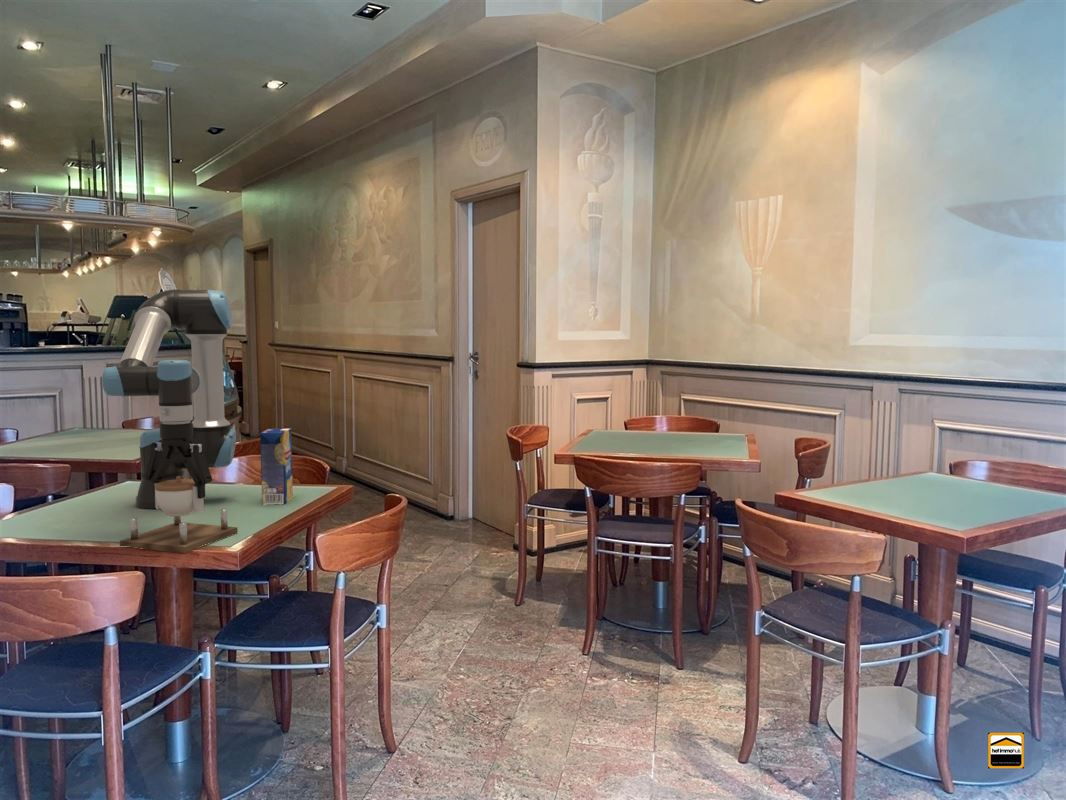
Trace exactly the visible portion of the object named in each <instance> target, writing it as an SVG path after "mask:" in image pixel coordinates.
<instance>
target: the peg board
mask: <svg viewBox="0 0 1066 800" xmlns="http://www.w3.org/2000/svg"><path fill="white" fill-rule="evenodd" d="M181 523H183V522H182V521H181ZM186 523H187V542H188V544H185V545H181V544H180V526H179V525H174V522H172V523H170V524H167V525H164V526H161V527H157V528H155V529H154V528H153V529H151V530H148V531H145V532H141V533H138V539H136V540H131V536H130V537H126V538H123V539H121V540H119V547H120V546H130V547H137V548H143V549H142V550H149V551H150V550H151V551H161V552H169V553H180V554H187V553H189V552H193V551H194V549H195V550H197V549H196V548H198V547H200V546H202V545H205V544H208V543H210V544H212V543H211V542H213V543H215V542H214V541H216V540H218V541H220V540H219V539H221V540H223V539H225V538H224V537H226V538H228V537H227V536H229V537H230V535H231V536H233V535H232V534H234V535H236V534H238V533H237V532H239V531H238V530H239V529H238V526H228V529H225V530H222V529H221V525H216V524H214V525H213V524H202V523H194V522H193V523H191V522H186ZM235 533H236V534H235ZM222 538H223V539H222ZM216 542H217V541H216ZM208 545H209V544H208ZM205 546H206V545H205ZM137 548H136V549H137ZM200 548H201V547H200ZM198 549H199V548H198Z"/></svg>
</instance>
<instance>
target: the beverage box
mask: <svg viewBox="0 0 1066 800" xmlns="http://www.w3.org/2000/svg"><path fill="white" fill-rule="evenodd" d="M259 435H260V436H259V440H260V441H259V445H260V446H259V447H260V473H261V474H260V475H261V478H260V479H261V505H262V506H264V505H263V504H286V503H287V502H288V501H289V499H290V498H291V497H292V496H293V497H294V494H293V493H294V489H293V487H294V486H293V485H294V484H293V453H292V450H293V449H292V447H293V446H292V445H293V444H292V428H267V429H266V430H264V431H263V430H262V431H261V432H260V433H259ZM293 497H292V498H293ZM292 498H291V499H292ZM291 499H290V500H291ZM289 502H290V501H289ZM287 504H288V503H287ZM287 504H286V505H287Z"/></svg>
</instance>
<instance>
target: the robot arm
mask: <svg viewBox="0 0 1066 800" xmlns="http://www.w3.org/2000/svg"><path fill="white" fill-rule="evenodd" d="M230 304H231V303H230V301H229V298H228V295H227V294H226V292H224V291H222V290H216V289H215V290H213V289H174V288H173V289H166V290H163V291H160V292H158V293H156V294H154V295H152V296H151V297H149V298H148V299H146V300H145V301H144V302H143V303H142V304H141V305H140V306H139V307H138V308H137V311H136V313H135V315H134V323H135V325H134V327H133V330H132V333H131V335H130V338H129V339H128V343H127V345H126V347H125V348H124V349H125V350H124V352H123V354H122V357H121V358H120V361H119V364H118V365H117V366H116V365H114V366H108V367H105V368H104V369H103V371H102V376H101V383H102V389H103V391H104V393H105V394H106V395H107V396H110V397H121V398H124V397H144V396H145V397H146V396H147V397H148V396H149V397H150V396H154V397H155V396H156V397H157V396H158V412H159V415H158V416H159V421H160V422H161V423H160V424H159V427H158V428H152V429H149V430H146V431H145V430H144V431H143V432H141V434H140V438H139V446H138V447H139V454H140V456H139V457H140V459H139V460H140V475H141V476H140V477H141V479H140V480H141V481H140V483H139V487H138V491H137V495H136V497H135V506H136V507H137V508H139V507H140V509H147V508H156V509H155V510H161V509H160V507H159V505H158V503H157V500H156V492H155V484H156V483H159V482H162V481H167V480H175V479H176V476H181V479H186V478H185V473H184V472H185V469H186V470H187V472H188V474H189V476H190V478H191V479H193V481H194V483H195V485H194V486H193V507H194V511H193V513H198V512H202V511H204V510H205V507H204V506H205V505H204V498H206V485H207V484H209V483H212V482H213V478H212V474H211V469H210V468H214V469H217V468H226V467H228V466H230V465H231V464H232V462H233V459H234V455H235V450H236V442H237V431H236V429H235V428H231V422H229V421H228V419H227V418H226V417H225V393H224V392H225V390H224V366H223V365H224V363H223V362H224V360H223V359H224V358H223V340H224V339H225V338H226V337H228V330H231V329H232V328H233V314H232V309H231V305H230ZM172 329H183V330H184V332H185V333H184V334H185V336H186V337H187V338H188V339H189V340H190V342H191V343H190V344H191V362H192V363H191V362H190V360H187V359H167V360H166V359H165V360H160V361H158V363H157V366H153V365H154V362H155V359H156V357H157V354H158V352H159V349H160V347H161V344H162V340H163V337H164V335H165V334H167V333H168V332H169V331H170V330H172Z"/></svg>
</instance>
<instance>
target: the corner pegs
mask: <svg viewBox="0 0 1066 800" xmlns="http://www.w3.org/2000/svg"><path fill="white" fill-rule="evenodd" d="M219 512H220V526H221V529H222V530H225V529H228V527H229V526H228V509H227V508H221V509H220V511H219ZM181 522H182V518H181V516H173V523H174V525H179V526H180V544H181V545H185V544H188V542H187V523H188V522H182V523H181ZM129 526H130V528H129V531H130V537H131V540H136V539H138V535H139V527H138V518H137V517H136V518H135V517H133V518H129Z"/></svg>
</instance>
